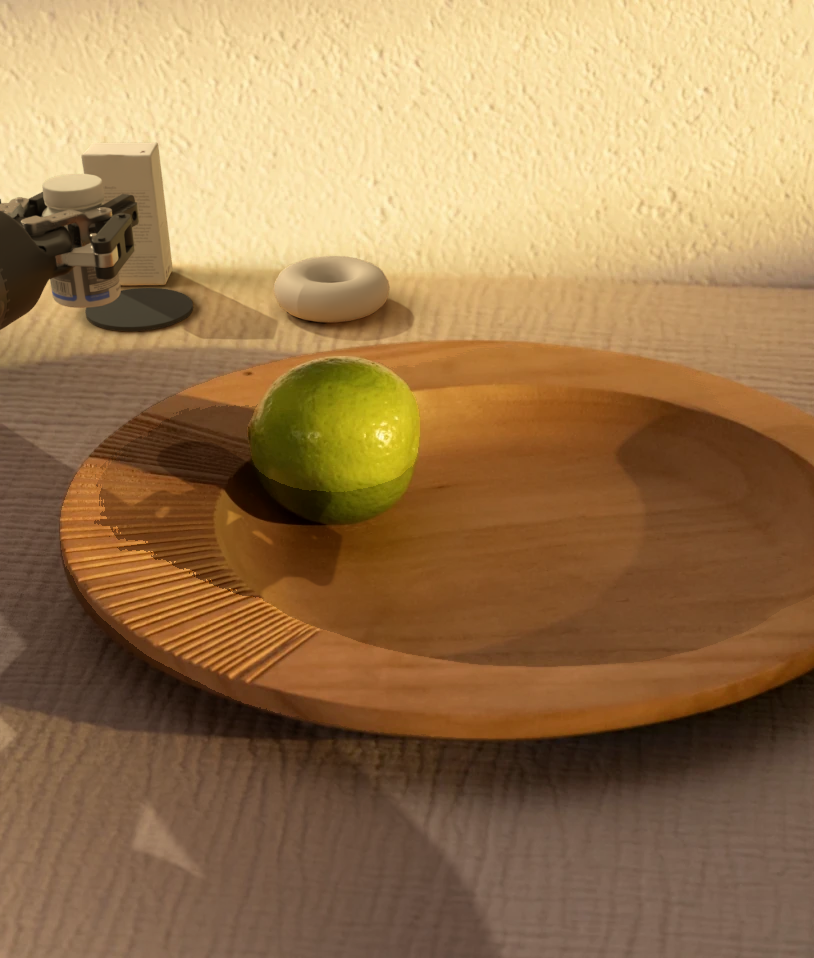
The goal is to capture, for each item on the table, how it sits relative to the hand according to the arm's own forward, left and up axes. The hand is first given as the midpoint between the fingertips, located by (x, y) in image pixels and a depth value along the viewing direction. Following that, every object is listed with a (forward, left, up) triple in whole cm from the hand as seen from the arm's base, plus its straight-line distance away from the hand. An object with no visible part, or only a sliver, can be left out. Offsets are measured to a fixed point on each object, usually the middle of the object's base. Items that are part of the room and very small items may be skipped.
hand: (96, 204), depth 93 cm
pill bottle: (0, -3, -6) cm, 7 cm away
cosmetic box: (-14, +19, -14) cm, 28 cm away
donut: (+6, +22, -14) cm, 27 cm away
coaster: (-8, +13, -14) cm, 21 cm away
